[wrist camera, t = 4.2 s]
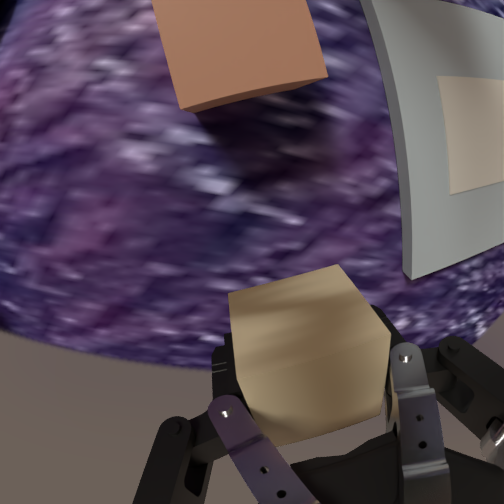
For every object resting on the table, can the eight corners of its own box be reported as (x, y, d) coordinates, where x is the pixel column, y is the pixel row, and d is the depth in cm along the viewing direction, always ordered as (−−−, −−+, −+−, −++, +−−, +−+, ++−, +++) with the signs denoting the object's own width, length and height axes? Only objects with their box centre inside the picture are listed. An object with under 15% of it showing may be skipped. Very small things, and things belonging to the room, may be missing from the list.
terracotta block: (194, 112, 13) (180, 109, 9) (170, 25, 11) (148, -13, 7) (294, 89, 13) (328, 77, 9) (269, 2, 11) (290, -41, 7)
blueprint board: (402, 271, 18) (412, 280, 17) (358, -3, 11) (368, -10, 10) (516, 226, 18) (526, 232, 17) (499, 22, 11) (510, 20, 9)
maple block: (253, 369, 15) (267, 448, 11) (227, 293, 13) (237, 379, 9) (343, 344, 15) (379, 414, 11) (337, 264, 13) (391, 333, 9)
